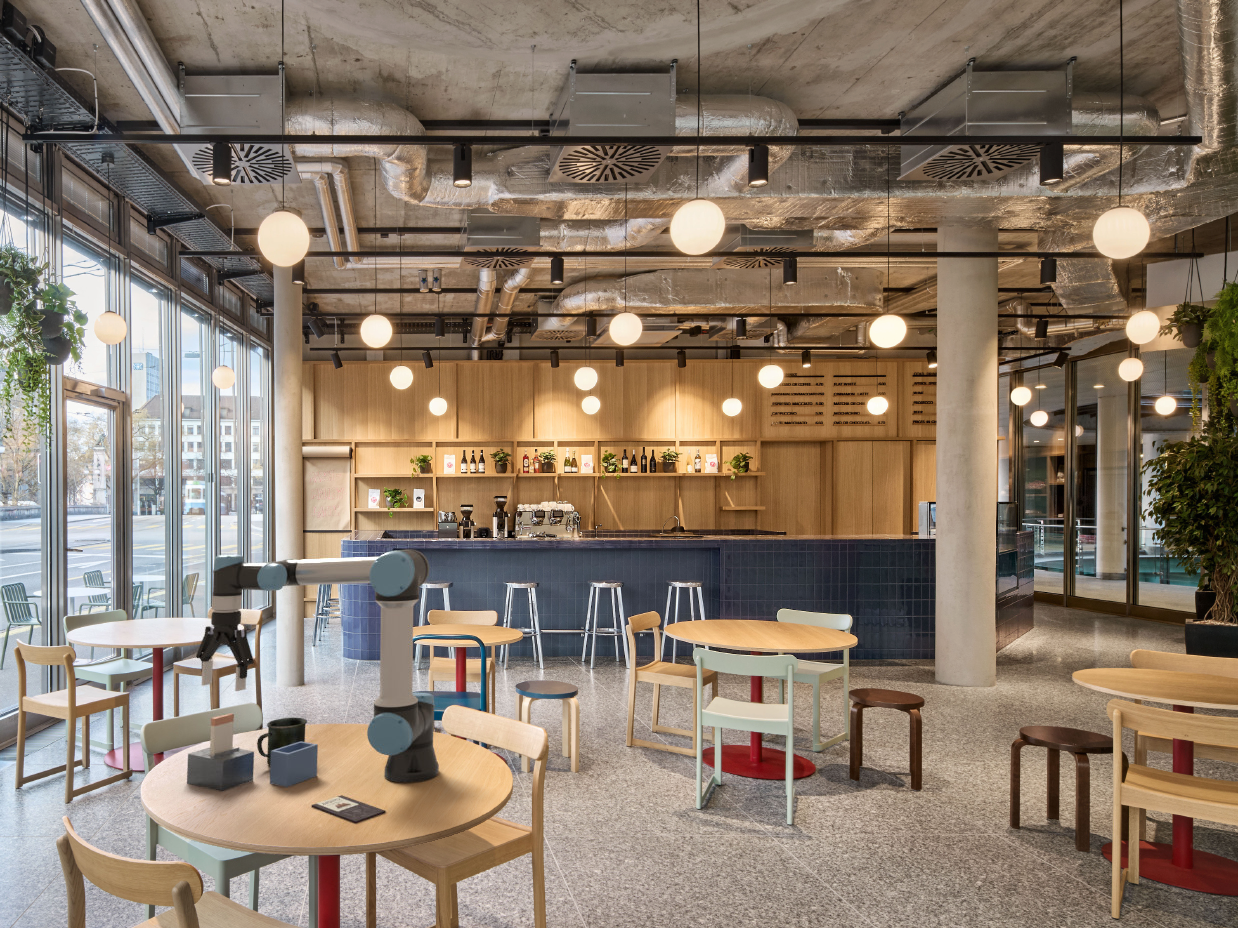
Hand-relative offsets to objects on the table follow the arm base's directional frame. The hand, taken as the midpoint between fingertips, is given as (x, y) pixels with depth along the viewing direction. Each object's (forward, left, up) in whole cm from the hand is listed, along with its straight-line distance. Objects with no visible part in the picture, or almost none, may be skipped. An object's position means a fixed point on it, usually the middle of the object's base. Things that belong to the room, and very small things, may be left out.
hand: (223, 687), depth 230 cm
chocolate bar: (-46, -1, -27) cm, 53 cm away
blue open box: (-16, -11, -26) cm, 32 cm away
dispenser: (0, 0, -26) cm, 26 cm away
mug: (-2, -19, -26) cm, 32 cm away
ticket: (0, 0, -24) cm, 24 cm away
